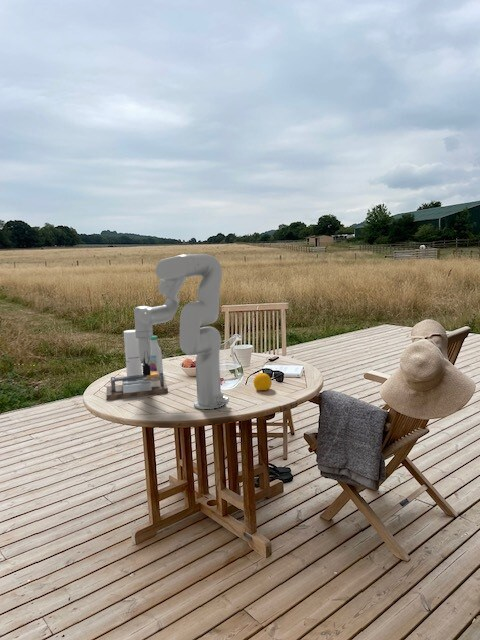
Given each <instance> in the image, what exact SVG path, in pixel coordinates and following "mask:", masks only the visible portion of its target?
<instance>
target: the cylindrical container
mask: <svg viewBox="0 0 480 640" xmlns="http://www.w3.org/2000/svg"><path fill="white" fill-rule="evenodd" d="M123 343H124V344H123V345H124V356H125V366H126V367H125V369H126V377H127V376H135V375H142V374H143V367H142V360H141V361H140V359H139V349H138V339H137V338H136V333H135V329H127V330H123Z"/></svg>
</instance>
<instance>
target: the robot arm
mask: <svg viewBox="0 0 480 640" xmlns="http://www.w3.org/2000/svg"><path fill="white" fill-rule="evenodd" d="M155 275H156V277H157V278H158V279H159V280H160V282H159V284H158V287H157V289H158V291H159V293H160V294H161V295H162V296H163V297H164V298H166V299H165V302H164V303H163V305H156V306H149V305H140V306H136V307H134V310H133V313H134V314H133V315H134V330H135V333H136V338H137V339H138V349H139V359H140V361H141V362H142V364H141V366H142V374H143V375H146V374H150V365H149V360H150V359H151V340H150V338H152V337H153V336H154V331H153V329H154V328H153V325H159V324H163V323H167V322H170V321H171V320H172V319H173V318H174V316H175V315H176V314H177V311H178V309H179V306H180V304H179V303H180V302H179V301H180V299H179V296H178V294H179V292H180V290H181V289H182V287H183V285H184V283H185V282H186V279H187V278H195V277H202V278H201V280H200V282H199V284H198V287H197V296H196V301H191V302H188V303H186V304H184V305H183V306H182V308H181V312H180V314H179V315H180V316H179V339H178V340H179V347H180V350H181V352H182V353H183V354H184V355H186V356H195V355H196V357H195V378H196V379H195V380H196V400H194V401H193V407H195V408H196V409H198V410H204V409H210V410H215V409H214V408H217V409H219V408H218V407H220V408H222V407H224V406H225V405H227V404H229V401H230V398H229V397H227V396H224V393H223V392H222V389H221V367H220V366H221V365H220V363H221V361H220V351H221V346H222V345H221V344H222V336H221V334H220V331H219V330H218V329H217V328H216V327H215V326H214V327H213V326H207V325H211V324H214V323H215V322H217V320H218V318H219V313H220V296H221V294H220V290H221V284H222V283H221V282H222V277H223V270H222V266H221V264H220V261H219V260H218V259H217V257H215V256H213V255H211V254H207V253H193V254H191V253H190V254H180V255H175V256H172V257H168V258H167V257H166V258H162V259H160V260H159V262H157V264H156V267H155ZM224 404H225V405H224ZM223 405H224V406H223ZM221 406H222V407H221Z"/></svg>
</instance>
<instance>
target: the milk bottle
mask: <svg viewBox="0 0 480 640" xmlns="http://www.w3.org/2000/svg"><path fill="white" fill-rule="evenodd" d="M150 340H151V359H150V360H149V365H150V373H151V372H158V373H159V371H160V370H162V372H163V373H164V371H163V370H164V369H163V355H162V349H161V347H160V346H159V342H158V335H153V337H152V338H150ZM158 377H160V375H159V376H158Z"/></svg>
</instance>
